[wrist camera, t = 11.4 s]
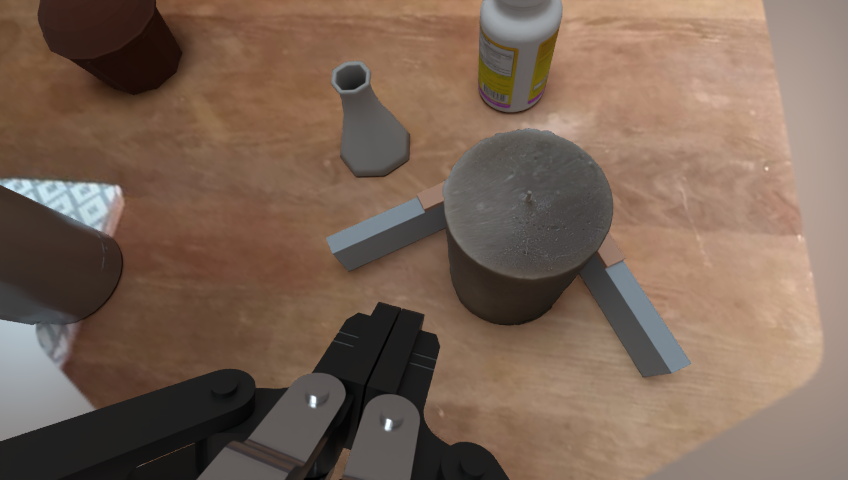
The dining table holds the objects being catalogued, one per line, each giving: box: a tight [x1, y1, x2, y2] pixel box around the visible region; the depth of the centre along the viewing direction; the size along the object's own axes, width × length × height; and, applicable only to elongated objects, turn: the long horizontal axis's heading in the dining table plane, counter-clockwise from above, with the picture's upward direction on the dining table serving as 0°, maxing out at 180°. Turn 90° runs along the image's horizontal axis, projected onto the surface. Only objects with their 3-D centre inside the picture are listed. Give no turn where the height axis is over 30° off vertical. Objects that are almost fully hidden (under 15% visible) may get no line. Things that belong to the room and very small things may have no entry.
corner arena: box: [327, 182, 691, 377], centre depth 33 cm, size 20×20×6 cm
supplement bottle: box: [478, 0, 562, 112], centre depth 38 cm, size 7×7×13 cm
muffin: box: [38, 0, 182, 95], centre depth 45 cm, size 12×11×10 cm
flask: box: [331, 61, 410, 177], centre depth 38 cm, size 7×7×10 cm
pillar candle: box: [442, 128, 613, 325], centre depth 30 cm, size 10×10×15 cm
